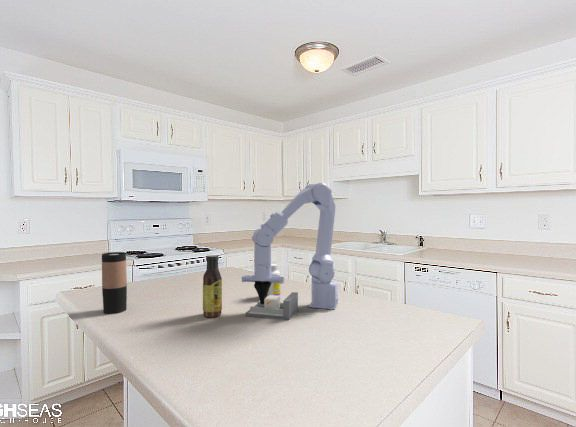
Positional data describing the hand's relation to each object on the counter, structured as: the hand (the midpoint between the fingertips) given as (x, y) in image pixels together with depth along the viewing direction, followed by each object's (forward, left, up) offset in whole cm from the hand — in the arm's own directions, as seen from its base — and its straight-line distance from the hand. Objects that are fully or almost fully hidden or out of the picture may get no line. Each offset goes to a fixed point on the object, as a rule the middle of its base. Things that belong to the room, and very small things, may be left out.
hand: (263, 303), depth 117 cm
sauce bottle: (+15, +8, -3) cm, 17 cm away
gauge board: (-3, 0, -3) cm, 4 cm away
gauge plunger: (-3, +1, -2) cm, 4 cm away
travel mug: (+50, +13, -3) cm, 52 cm away
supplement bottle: (+3, -18, -3) cm, 19 cm away
